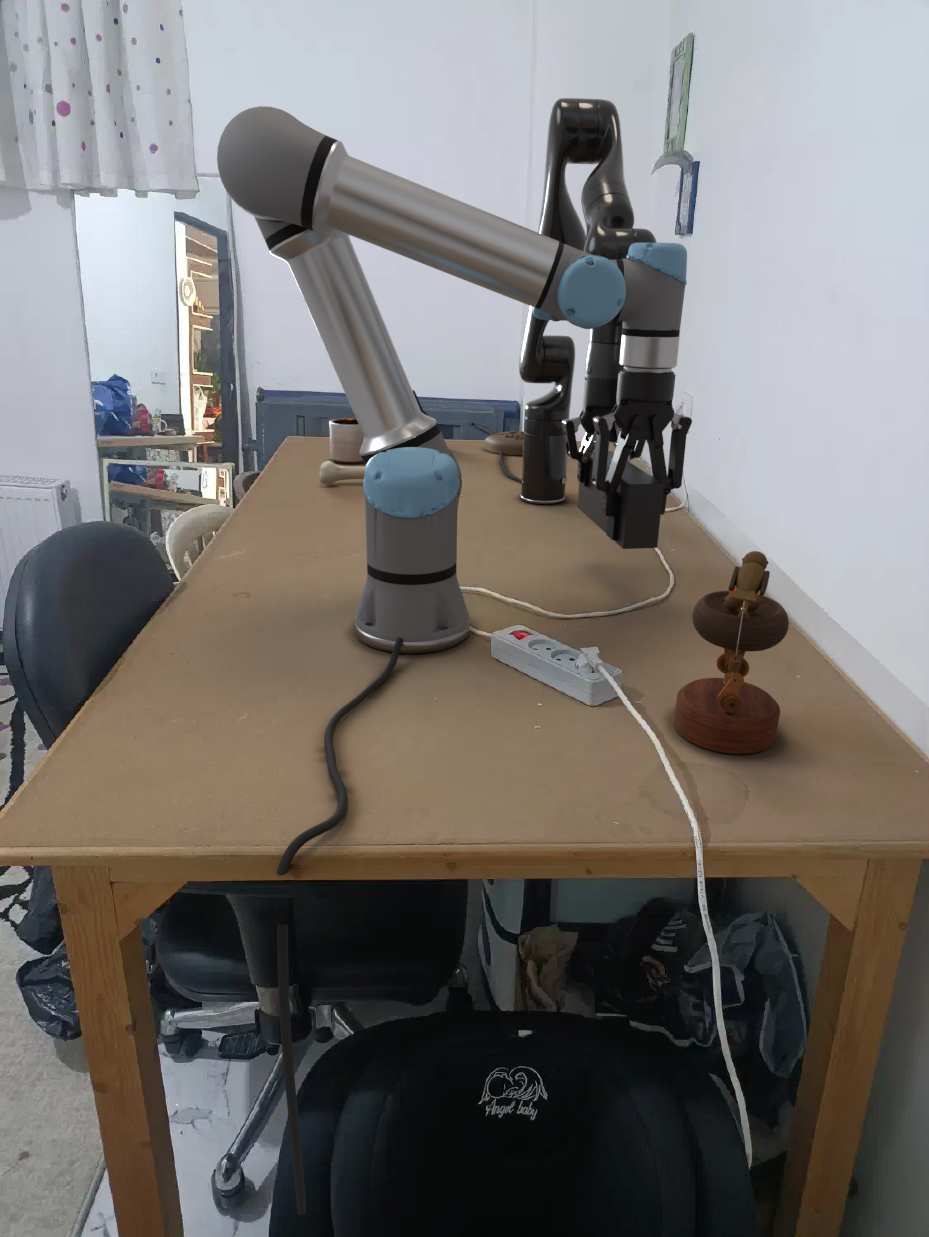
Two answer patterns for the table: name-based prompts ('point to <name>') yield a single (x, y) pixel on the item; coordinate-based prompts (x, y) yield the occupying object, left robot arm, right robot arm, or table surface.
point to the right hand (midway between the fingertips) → (601, 484)
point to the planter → (345, 440)
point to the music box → (734, 665)
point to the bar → (627, 506)
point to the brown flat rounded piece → (506, 443)
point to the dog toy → (339, 472)
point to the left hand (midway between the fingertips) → (631, 536)
